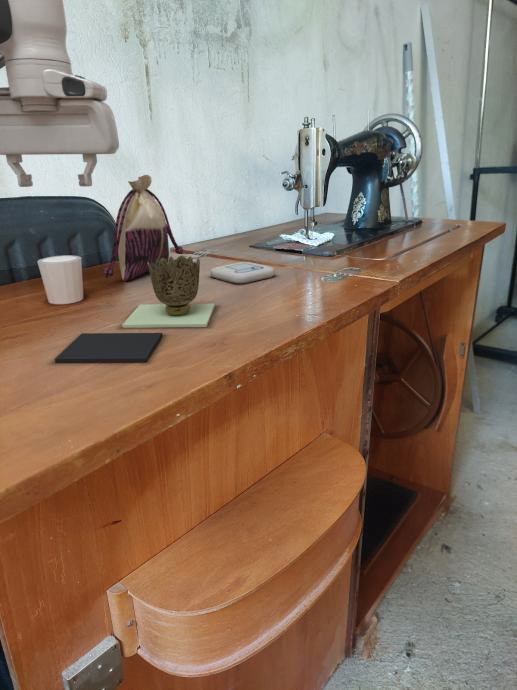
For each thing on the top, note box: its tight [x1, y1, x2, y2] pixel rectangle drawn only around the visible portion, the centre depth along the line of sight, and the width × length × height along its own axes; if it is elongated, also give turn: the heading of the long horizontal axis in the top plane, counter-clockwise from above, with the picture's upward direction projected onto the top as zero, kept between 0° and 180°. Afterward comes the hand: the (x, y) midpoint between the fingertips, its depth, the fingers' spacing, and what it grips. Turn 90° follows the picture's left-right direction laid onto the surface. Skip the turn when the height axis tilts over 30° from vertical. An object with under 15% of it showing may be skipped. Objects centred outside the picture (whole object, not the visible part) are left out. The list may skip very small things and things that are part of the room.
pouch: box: [103, 174, 184, 282], centre depth 102 cm, size 25×8×19 cm, turn 162°
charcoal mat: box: [54, 332, 163, 364], centre depth 65 cm, size 11×9×1 cm
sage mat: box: [121, 303, 216, 329], centre depth 77 cm, size 12×10×1 cm
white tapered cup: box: [37, 254, 84, 305], centre depth 86 cm, size 7×7×7 cm
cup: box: [148, 255, 201, 316], centre depth 76 cm, size 8×7×8 cm
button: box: [210, 261, 276, 285], centre depth 100 cm, size 10×2×10 cm
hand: (55, 186), depth 80 cm, fingers open, 8 cm apart
